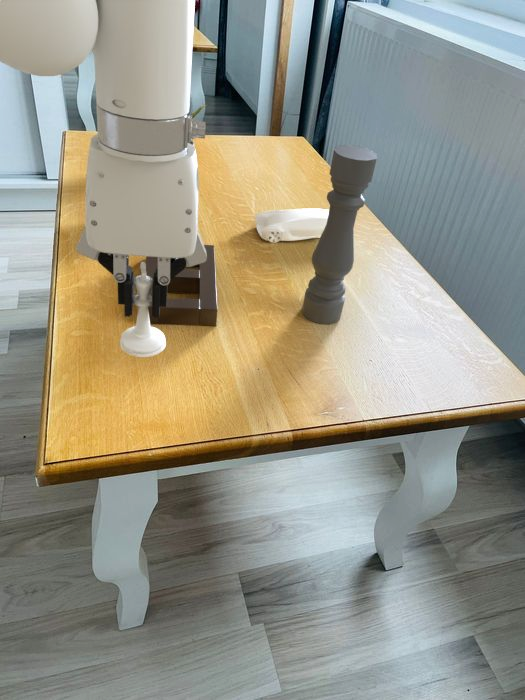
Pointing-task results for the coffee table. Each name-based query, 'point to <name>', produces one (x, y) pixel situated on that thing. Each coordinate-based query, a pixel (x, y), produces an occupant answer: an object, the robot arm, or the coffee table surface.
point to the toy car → (291, 224)
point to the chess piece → (142, 322)
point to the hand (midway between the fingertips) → (142, 308)
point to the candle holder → (338, 233)
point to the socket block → (189, 283)
